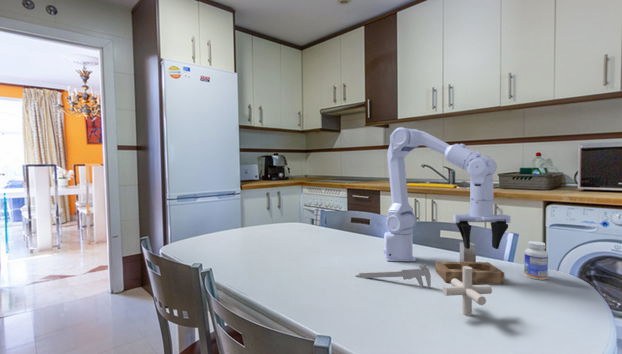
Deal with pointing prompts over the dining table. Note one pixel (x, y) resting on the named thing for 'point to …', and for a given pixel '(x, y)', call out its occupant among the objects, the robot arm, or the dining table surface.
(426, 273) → the caliper
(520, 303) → the dining table surface
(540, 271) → the pill bottle
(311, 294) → the dining table surface
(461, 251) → the square bit
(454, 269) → the socket block
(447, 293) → the wooden cross jack
